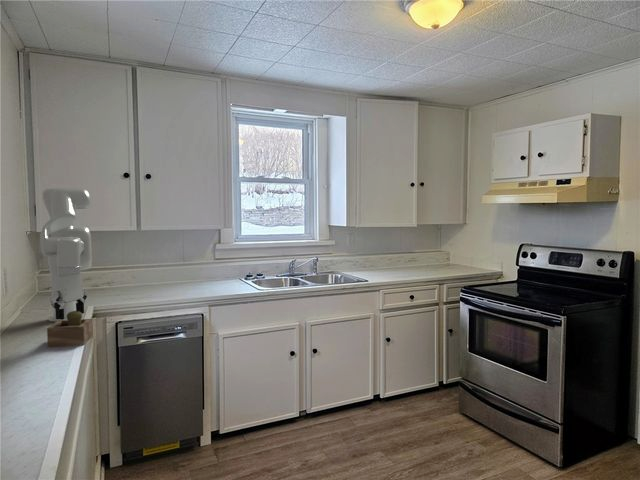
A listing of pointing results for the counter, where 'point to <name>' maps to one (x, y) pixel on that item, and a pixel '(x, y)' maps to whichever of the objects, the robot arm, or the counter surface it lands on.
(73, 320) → the cork
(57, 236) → the robot arm
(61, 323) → the box
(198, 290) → the counter surface
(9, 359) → the counter surface
